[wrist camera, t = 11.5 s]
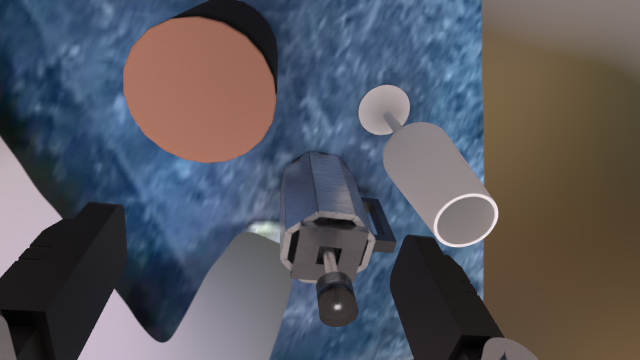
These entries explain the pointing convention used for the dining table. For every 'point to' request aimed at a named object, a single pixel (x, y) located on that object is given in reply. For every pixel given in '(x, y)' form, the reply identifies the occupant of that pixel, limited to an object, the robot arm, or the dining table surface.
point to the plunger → (334, 290)
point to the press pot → (332, 202)
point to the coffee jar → (205, 81)
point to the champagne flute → (429, 170)
